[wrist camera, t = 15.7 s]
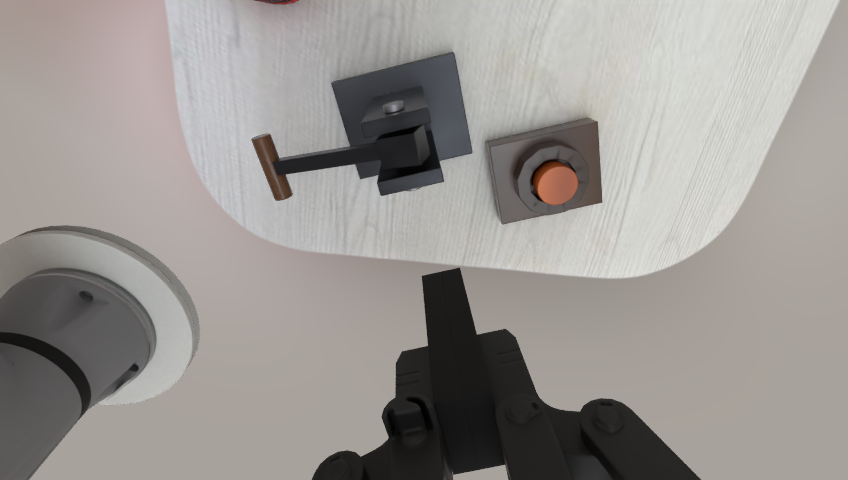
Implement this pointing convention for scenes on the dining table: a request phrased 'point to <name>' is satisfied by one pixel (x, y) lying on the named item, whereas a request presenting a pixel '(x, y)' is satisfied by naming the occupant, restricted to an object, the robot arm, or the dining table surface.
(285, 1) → the canned food
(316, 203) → the dining table surface
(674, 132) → the dining table surface
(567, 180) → the button
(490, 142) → the button block
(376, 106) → the switch bracket
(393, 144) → the lever
